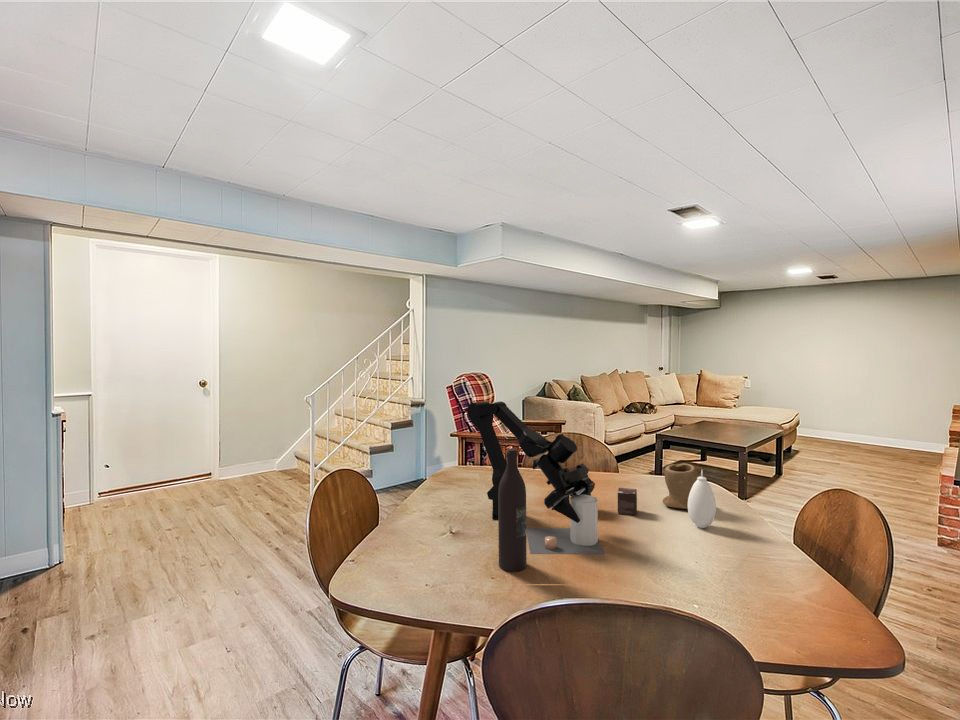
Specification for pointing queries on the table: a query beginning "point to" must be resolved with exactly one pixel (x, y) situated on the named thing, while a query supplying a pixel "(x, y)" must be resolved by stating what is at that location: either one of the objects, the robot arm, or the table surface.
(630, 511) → the box
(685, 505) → the stone cup
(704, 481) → the white air blower bulb
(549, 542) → the pinkish tan round piece
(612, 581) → the table surface
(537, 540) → the mat
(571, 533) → the cover cup
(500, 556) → the wine bottle
